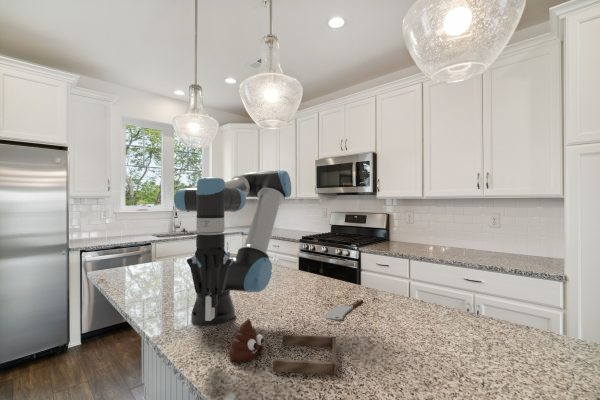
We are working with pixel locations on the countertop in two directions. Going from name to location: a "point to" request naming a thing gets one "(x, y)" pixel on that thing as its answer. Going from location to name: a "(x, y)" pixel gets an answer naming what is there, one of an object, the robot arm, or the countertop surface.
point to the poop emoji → (246, 343)
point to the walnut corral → (308, 366)
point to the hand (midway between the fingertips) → (210, 318)
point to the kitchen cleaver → (341, 311)
